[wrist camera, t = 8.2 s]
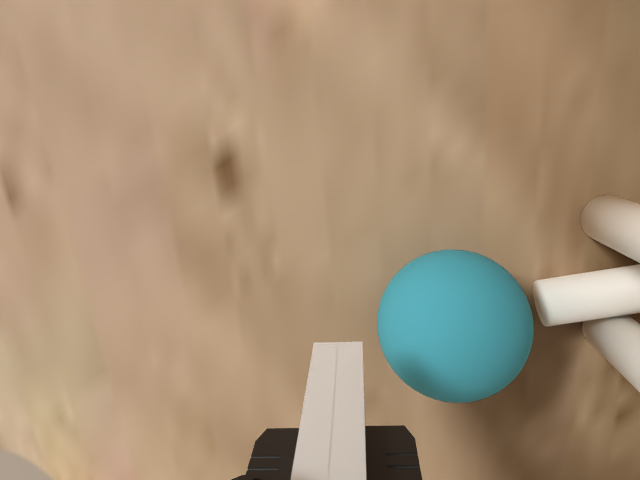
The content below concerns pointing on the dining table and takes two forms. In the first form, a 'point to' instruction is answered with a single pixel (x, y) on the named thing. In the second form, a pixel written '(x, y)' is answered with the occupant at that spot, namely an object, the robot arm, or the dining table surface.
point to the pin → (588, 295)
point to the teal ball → (455, 326)
